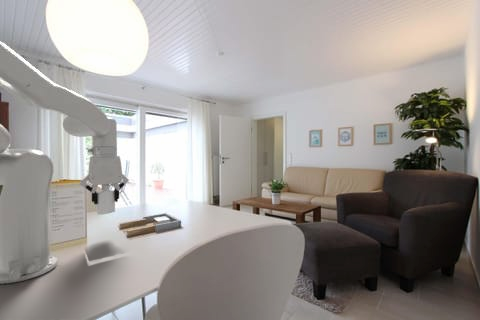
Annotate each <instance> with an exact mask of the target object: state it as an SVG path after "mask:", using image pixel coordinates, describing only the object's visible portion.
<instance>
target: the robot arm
mask: <svg viewBox="0 0 480 320" xmlns="http://www.w3.org/2000/svg"><path fill="white" fill-rule="evenodd" d="M0 87H1V88H2V89H4V90H5V91H7V92H8V93H10V94H11V95H13V96H15V97H16V98H18V99H19V100H20V101H23V103H25V104H27V105H29V106H31V107H34V108H37V109H41V110H45V111H48V112H49V111H51V112H55V113H58V114H62V115H65V116H66V117H65V118H64V119H63V121H62V127H63V130H64V131H65V132H66V133H67V134H68V135H71V136H72V137H76V138H80V137H81V138H83V137H91V139H92V140H91V142H92V143H91V145H92V147H91V148H87V153H90V154H92V156H91V155H90V157H89V162H88V163H89V164H88V171H87V173H88V174H87V175H86V176H85V177H84V178H83V179H82V180H80V182H79V185H80V186H82V187H83V188H85V189H86V190H88V191H89V192H90V193H91V202H92V203H93V204H94V205H96V204H97V189H98V186H99V185H100V186H102V185H103V184H109V185H113V187H114V190H113V191H114V192H115V203H117V202H118V200H120V191H121V189H122V188H123V187H124V186H125V185H126V184H128V183H129V181H130V179H129V178H127V176H125V174H123V169H122V162H121V157H120V155H118V138H117V137H118V134H117V129H118V128H117V127H118V126H117V121H116V119H115V118H113V117H108V116H107V114H106V113H105V112H104V111H102V109H100V108H99V107H98V106H97V105H96V104H94V103H93V102H92V101H90V99H87V98H86V97H84V96H82V95H80V94H78V93H76V92H74V91H72V90H70V89H68V88H66V87H63V86H61V85H58V84H56V83H54V82H53V81H52V80H50V79H49V78H48V77H47V76H45V75H44V74H43V73H42V72H40V71H39V70H38V69H36V68H35V67H34V66H33V65H32V64H30V63H29V62H28V61H26V59H24V58H23V57H22V56H20V55H19V54H18V53H16V52H15V51H14V50H13V49H12V48H10V47H9V46H7V45H6V44H5V43H4V42H3V41H2V40H1V41H0ZM11 143H12V136H11V134H10V132H9V131H8V129H7V128H5V126H3V124H1V123H0V186H2V188H1V191H0V285H3V284H5V283H6V284H13V283H19V282H23V281H28V280H30V279H33V278H36V277H39V276H41V275H44V274H46V273H48V272H50V271H52V270H53V269H54V268H56V267H57V265H58V262H59V261H58V258H57V257H56V256H52V255H51V219H50V217H51V215H50V214H51V212H50V209H51V208H50V194H51V183H52V181H53V175H54V164H53V162H52V159H51V158H50V157H49V156H48V154H46V153H44V152H42V151H40V150H37V149H33V148H11V149H10V147H11V146H12V145H11ZM87 183H89V184H91V186H90V185H89V184H87Z"/></svg>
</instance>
